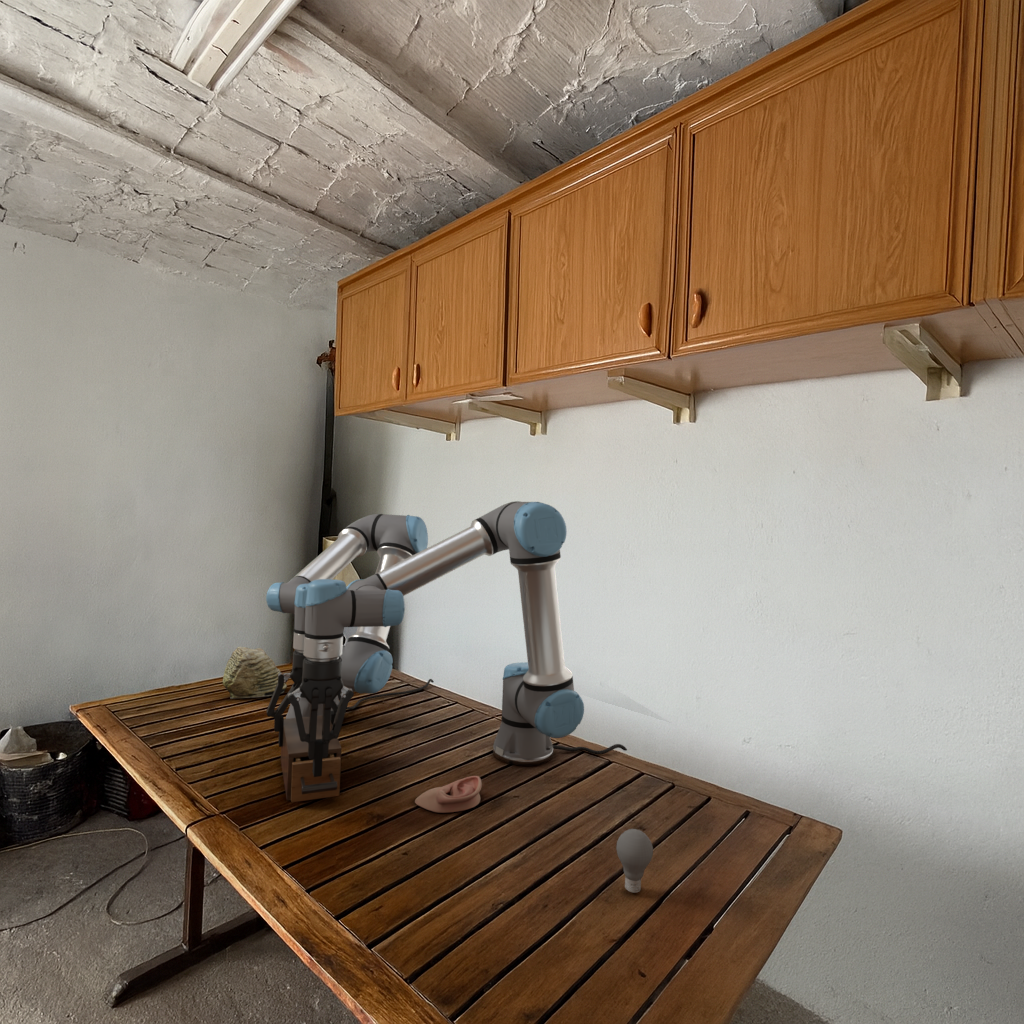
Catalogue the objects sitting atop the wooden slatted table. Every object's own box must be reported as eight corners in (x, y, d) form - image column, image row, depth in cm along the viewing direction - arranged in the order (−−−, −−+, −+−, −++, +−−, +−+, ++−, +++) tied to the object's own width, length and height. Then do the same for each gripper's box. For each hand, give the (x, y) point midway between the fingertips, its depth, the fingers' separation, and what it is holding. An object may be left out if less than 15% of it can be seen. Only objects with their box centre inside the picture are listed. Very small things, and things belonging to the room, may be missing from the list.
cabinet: (339, 793, 136) (341, 748, 135) (286, 800, 131) (288, 753, 131) (327, 754, 155) (328, 714, 155) (280, 759, 151) (282, 719, 151)
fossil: (218, 695, 195) (220, 647, 195) (278, 685, 208) (279, 640, 207) (228, 703, 189) (230, 653, 188) (289, 692, 201) (290, 645, 201)
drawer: (343, 809, 127) (345, 770, 127) (293, 816, 123) (295, 777, 123) (326, 757, 151) (328, 725, 151) (284, 762, 147) (285, 729, 147)
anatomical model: (409, 789, 130) (428, 766, 141) (409, 808, 130) (427, 784, 141) (472, 798, 127) (486, 774, 138) (471, 818, 127) (485, 792, 138)
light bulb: (610, 879, 108) (613, 822, 108) (644, 879, 109) (647, 822, 109) (619, 902, 102) (622, 840, 102) (655, 901, 103) (658, 840, 103)
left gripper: (257, 656, 142) (253, 753, 142) (362, 650, 151) (358, 742, 151) (256, 648, 149) (253, 741, 149) (356, 643, 158) (353, 731, 158)
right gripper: (290, 663, 121) (283, 785, 121) (359, 660, 126) (353, 777, 126) (287, 654, 128) (281, 769, 128) (352, 651, 133) (347, 762, 133)
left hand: (306, 742), depth 150 cm, fingers closed on cabinet, 11 cm apart
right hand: (317, 773), depth 127 cm, fingers closed
